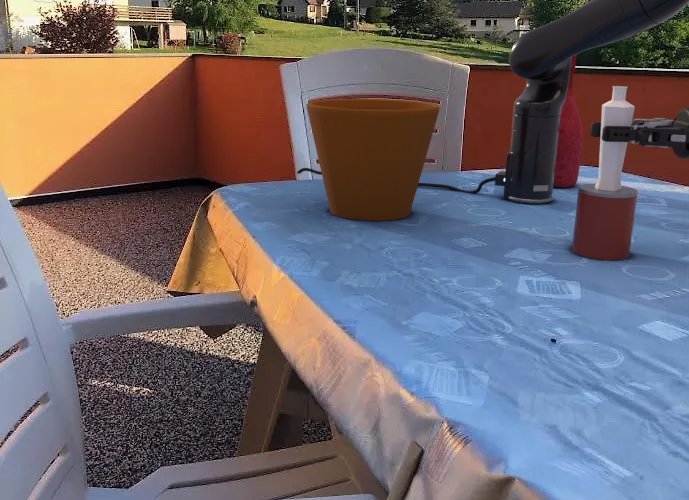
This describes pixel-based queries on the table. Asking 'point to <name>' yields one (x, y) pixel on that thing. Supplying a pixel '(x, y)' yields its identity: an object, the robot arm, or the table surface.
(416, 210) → the table surface
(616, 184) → the perfume bottle
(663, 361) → the table surface
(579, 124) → the wine bottle
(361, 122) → the flower pot
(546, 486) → the table surface
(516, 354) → the table surface
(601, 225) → the tin can
